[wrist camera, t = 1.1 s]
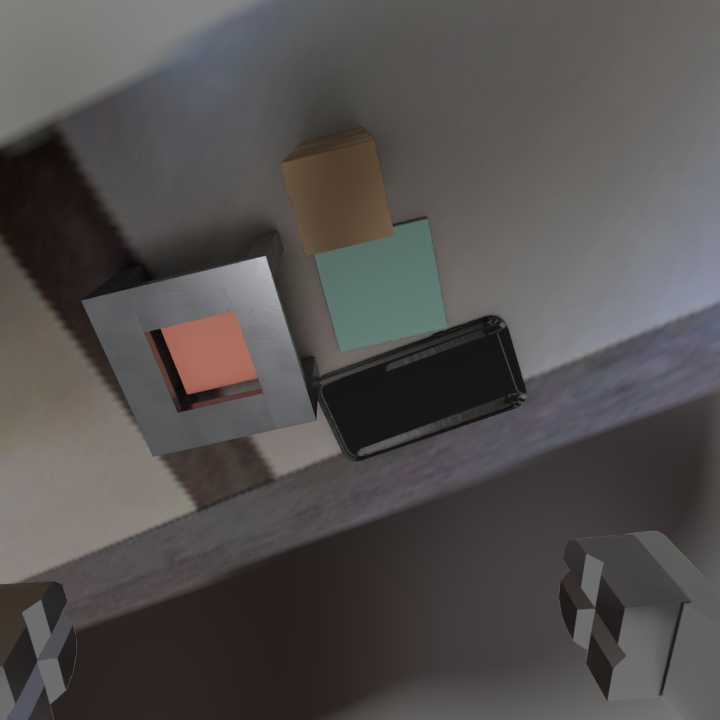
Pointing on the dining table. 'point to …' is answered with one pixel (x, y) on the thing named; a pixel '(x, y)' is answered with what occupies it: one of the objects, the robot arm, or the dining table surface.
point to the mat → (383, 287)
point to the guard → (193, 302)
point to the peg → (337, 191)
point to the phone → (423, 389)
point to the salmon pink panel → (210, 352)
